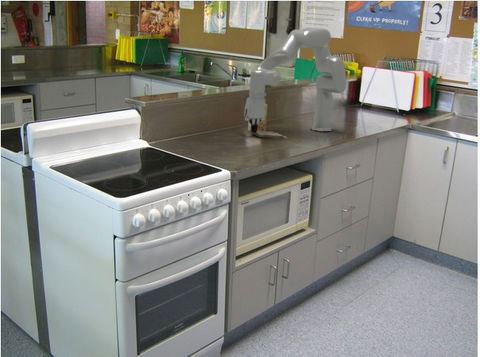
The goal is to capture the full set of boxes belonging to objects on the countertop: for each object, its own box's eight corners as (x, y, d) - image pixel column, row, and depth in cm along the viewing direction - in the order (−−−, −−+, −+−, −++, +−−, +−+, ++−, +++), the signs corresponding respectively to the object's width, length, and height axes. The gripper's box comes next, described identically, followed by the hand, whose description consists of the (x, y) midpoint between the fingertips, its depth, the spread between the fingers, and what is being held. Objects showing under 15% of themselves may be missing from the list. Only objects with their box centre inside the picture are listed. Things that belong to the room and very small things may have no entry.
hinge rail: (276, 135, 276) (276, 132, 276) (287, 139, 266) (287, 137, 266) (274, 135, 275) (274, 132, 275) (285, 139, 266) (285, 137, 266)
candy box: (251, 133, 275) (253, 104, 270) (247, 132, 278) (249, 103, 274) (265, 133, 279) (267, 104, 275) (261, 131, 283) (263, 103, 278)
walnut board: (273, 131, 274) (250, 129, 267) (283, 135, 265) (259, 134, 259) (273, 134, 274) (249, 132, 268) (282, 138, 266) (258, 136, 259)
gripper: (266, 94, 264) (263, 130, 269) (239, 94, 258) (237, 131, 263) (273, 96, 258) (270, 133, 263) (246, 96, 251) (243, 134, 256)
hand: (253, 132), depth 263 cm, fingers closed
